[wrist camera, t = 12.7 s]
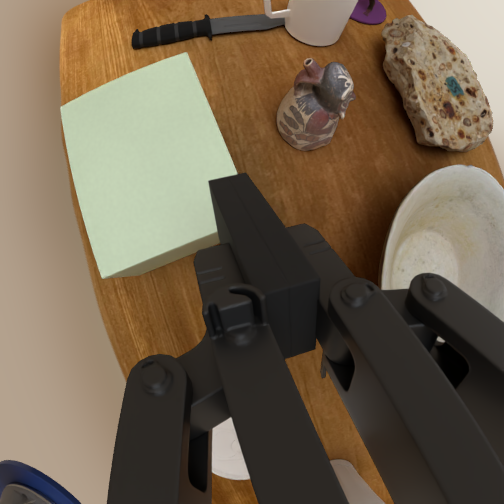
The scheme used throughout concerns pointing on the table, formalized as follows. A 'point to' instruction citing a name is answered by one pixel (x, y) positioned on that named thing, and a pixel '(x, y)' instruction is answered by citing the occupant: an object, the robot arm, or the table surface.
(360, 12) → the figurine
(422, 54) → the rock
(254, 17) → the knife
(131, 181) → the lid
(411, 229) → the bowl
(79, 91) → the table surface
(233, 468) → the beverage can
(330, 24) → the cup
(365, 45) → the table surface
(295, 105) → the figurine
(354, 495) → the cup
